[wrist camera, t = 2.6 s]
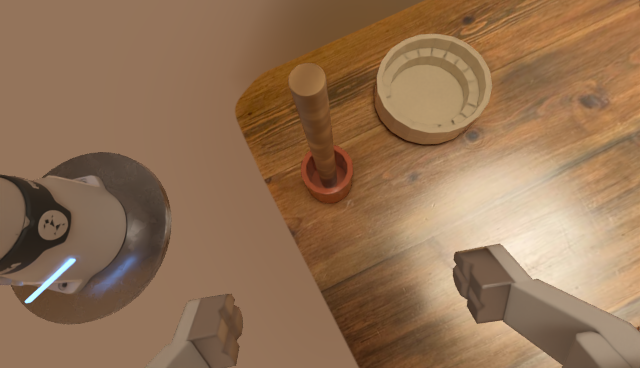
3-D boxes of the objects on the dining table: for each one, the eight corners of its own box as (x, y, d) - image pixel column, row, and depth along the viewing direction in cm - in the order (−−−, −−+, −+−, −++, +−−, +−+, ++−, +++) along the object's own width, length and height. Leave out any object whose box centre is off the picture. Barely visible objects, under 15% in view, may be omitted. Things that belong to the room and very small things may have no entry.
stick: (321, 188, 44) (287, 97, 18) (321, 173, 44) (288, 63, 19) (337, 188, 43) (325, 95, 18) (337, 172, 44) (325, 61, 19)
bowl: (376, 147, 45) (379, 134, 40) (371, 59, 49) (374, 37, 44) (482, 144, 44) (499, 130, 39) (469, 53, 47) (483, 30, 42)
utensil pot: (307, 204, 44) (300, 194, 37) (308, 161, 45) (301, 144, 39) (352, 203, 43) (353, 193, 36) (350, 160, 45) (351, 142, 38)
